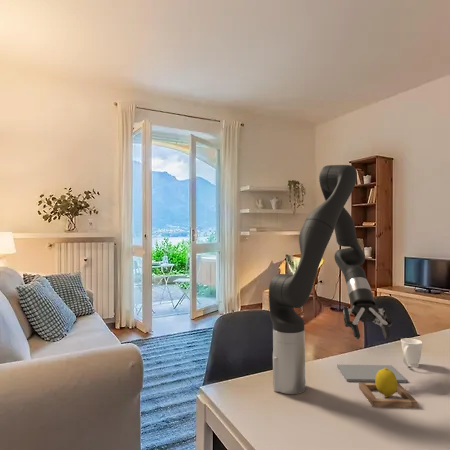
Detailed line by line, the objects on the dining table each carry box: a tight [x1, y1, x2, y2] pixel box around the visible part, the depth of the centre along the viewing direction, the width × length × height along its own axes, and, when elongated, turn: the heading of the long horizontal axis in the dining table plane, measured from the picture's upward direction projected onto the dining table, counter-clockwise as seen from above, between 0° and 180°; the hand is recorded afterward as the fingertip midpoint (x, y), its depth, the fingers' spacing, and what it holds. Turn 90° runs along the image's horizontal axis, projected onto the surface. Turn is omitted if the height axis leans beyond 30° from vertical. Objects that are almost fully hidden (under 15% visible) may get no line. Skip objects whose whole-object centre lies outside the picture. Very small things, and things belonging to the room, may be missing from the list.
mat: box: [336, 364, 408, 383], centre depth 114 cm, size 18×12×1 cm, turn 86°
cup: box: [400, 337, 423, 368], centre depth 121 cm, size 7×10×8 cm
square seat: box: [358, 382, 419, 409], centre depth 98 cm, size 11×11×2 cm
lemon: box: [374, 368, 398, 398], centre depth 98 cm, size 6×6×8 cm
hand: (372, 338), depth 109 cm, fingers open, 8 cm apart
